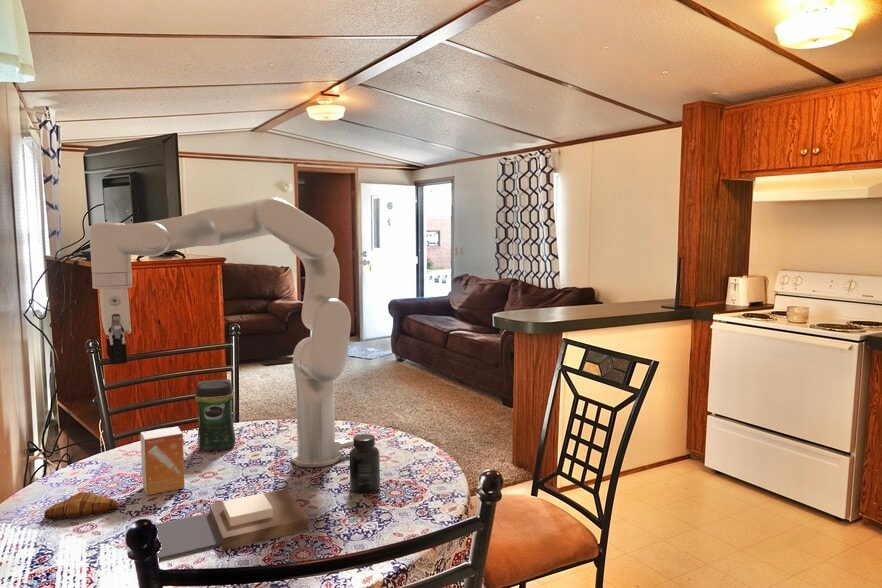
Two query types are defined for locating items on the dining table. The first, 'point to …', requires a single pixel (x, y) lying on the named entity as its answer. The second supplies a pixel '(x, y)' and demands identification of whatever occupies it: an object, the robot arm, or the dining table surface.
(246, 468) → the dining table surface
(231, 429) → the coffee jar
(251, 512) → the block
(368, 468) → the supplement bottle
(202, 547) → the mat
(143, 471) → the small box
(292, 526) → the board
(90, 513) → the croissant
